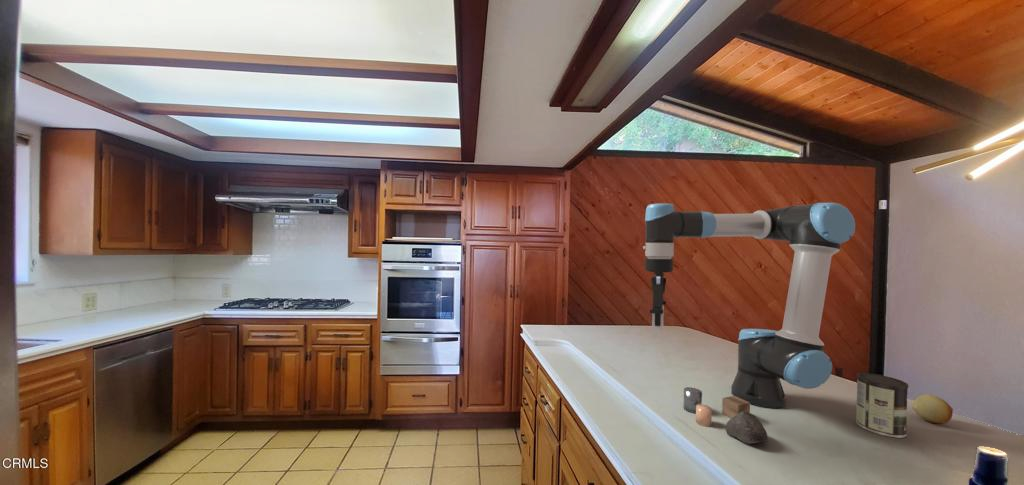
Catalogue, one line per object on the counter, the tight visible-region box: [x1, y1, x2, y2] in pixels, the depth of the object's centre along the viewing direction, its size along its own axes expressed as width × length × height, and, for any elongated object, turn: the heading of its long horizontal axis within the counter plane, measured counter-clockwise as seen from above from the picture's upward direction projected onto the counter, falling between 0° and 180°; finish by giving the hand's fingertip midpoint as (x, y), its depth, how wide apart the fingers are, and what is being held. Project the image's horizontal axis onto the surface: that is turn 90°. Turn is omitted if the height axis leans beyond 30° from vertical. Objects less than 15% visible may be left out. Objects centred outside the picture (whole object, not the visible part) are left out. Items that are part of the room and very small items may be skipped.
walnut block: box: [721, 395, 751, 419], centre depth 108 cm, size 5×5×5 cm
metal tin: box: [683, 386, 703, 415], centre depth 112 cm, size 5×5×6 cm
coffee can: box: [855, 372, 909, 439], centre depth 103 cm, size 10×10×14 cm
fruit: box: [911, 393, 954, 425], centre depth 108 cm, size 8×8×8 cm
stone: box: [725, 411, 768, 445], centre depth 96 cm, size 10×8×10 cm
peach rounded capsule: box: [695, 404, 713, 428], centre depth 104 cm, size 4×4×4 cm
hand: (657, 331), depth 104 cm, fingers open, 13 cm apart
